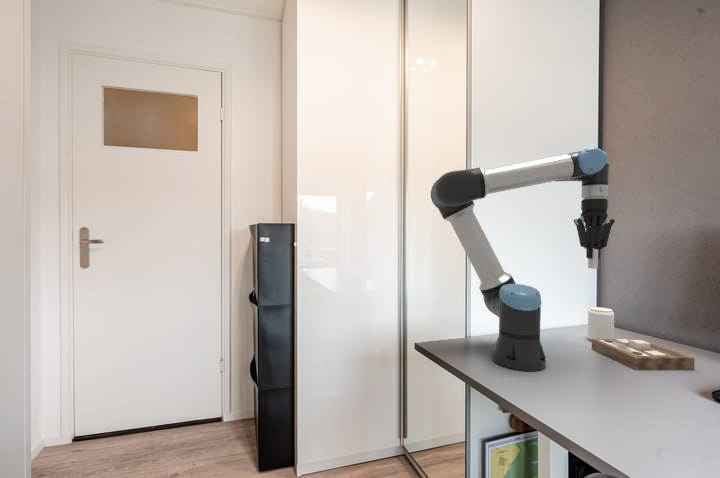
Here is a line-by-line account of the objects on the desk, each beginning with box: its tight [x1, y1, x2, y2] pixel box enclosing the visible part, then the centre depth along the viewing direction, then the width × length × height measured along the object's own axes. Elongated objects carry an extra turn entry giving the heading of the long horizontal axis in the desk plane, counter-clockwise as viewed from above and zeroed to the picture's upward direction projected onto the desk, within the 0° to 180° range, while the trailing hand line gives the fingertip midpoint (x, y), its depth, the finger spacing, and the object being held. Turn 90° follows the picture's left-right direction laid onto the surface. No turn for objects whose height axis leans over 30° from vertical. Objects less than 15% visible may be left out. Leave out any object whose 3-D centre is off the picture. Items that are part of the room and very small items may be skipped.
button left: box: [614, 338, 628, 344], centre depth 122 cm, size 4×4×3 cm
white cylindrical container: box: [587, 306, 615, 341], centre depth 135 cm, size 8×8×12 cm
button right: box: [643, 351, 667, 357], centre depth 110 cm, size 4×4×3 cm
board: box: [591, 338, 695, 371], centre depth 116 cm, size 18×19×4 cm
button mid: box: [628, 340, 651, 350], centre depth 116 cm, size 4×4×3 cm
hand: (592, 268), depth 122 cm, fingers closed
